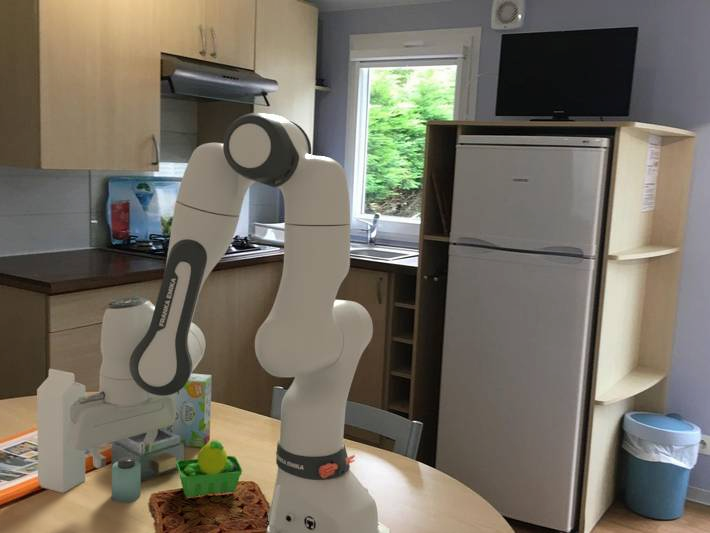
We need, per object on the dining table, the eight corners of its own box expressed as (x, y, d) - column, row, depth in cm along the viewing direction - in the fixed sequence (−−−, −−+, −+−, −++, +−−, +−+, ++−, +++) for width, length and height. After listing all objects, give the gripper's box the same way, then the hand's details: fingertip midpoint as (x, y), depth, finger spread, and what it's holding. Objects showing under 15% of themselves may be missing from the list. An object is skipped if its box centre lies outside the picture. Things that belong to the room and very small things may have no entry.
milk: (60, 474, 144) (60, 364, 141) (86, 480, 142) (86, 369, 138) (37, 486, 138) (36, 372, 135) (62, 493, 136) (62, 377, 133)
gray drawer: (188, 469, 149) (188, 439, 148) (145, 485, 141) (145, 452, 140) (154, 452, 156) (154, 422, 155) (111, 465, 149) (111, 434, 148)
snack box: (210, 439, 165) (212, 373, 163) (203, 449, 160) (205, 381, 157) (118, 430, 167) (119, 365, 165) (108, 439, 161) (108, 373, 159)
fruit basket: (234, 479, 146) (235, 424, 144) (244, 499, 138) (246, 442, 136) (175, 485, 142) (176, 429, 140) (181, 507, 134) (183, 447, 132)
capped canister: (145, 496, 137) (146, 460, 136) (121, 505, 133) (122, 468, 132) (130, 487, 140) (130, 452, 139) (106, 495, 136) (106, 459, 135)
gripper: (80, 404, 124) (78, 482, 126) (182, 381, 139) (179, 450, 142) (61, 393, 128) (60, 468, 130) (162, 372, 143) (159, 439, 146)
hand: (122, 459), depth 136 cm, fingers open, 8 cm apart
